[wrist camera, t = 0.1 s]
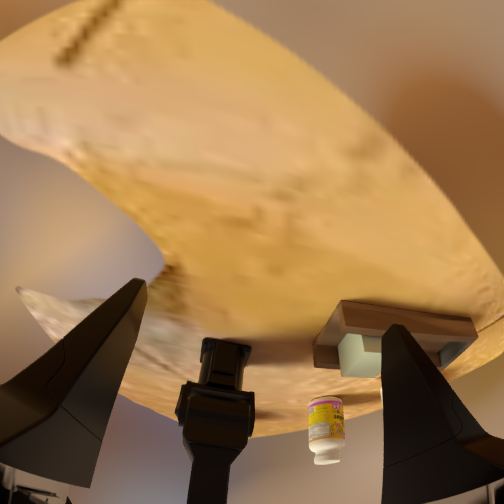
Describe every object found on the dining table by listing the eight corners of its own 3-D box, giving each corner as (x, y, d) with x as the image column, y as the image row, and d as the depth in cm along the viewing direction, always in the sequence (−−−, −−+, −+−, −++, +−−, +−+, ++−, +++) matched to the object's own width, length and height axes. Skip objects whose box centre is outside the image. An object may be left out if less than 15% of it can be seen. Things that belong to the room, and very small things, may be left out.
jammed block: (369, 348, 35) (374, 377, 31) (337, 345, 34) (341, 376, 31) (391, 322, 31) (399, 353, 28) (357, 318, 31) (364, 351, 27)
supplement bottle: (345, 402, 49) (349, 461, 40) (314, 409, 52) (315, 466, 42) (337, 392, 46) (341, 457, 36) (303, 399, 48) (303, 462, 38)
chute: (436, 353, 38) (441, 370, 35) (312, 344, 36) (314, 367, 33) (470, 318, 32) (478, 336, 29) (340, 300, 30) (345, 325, 28)
